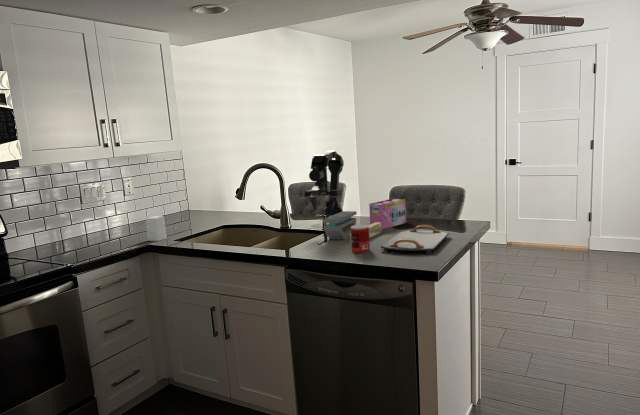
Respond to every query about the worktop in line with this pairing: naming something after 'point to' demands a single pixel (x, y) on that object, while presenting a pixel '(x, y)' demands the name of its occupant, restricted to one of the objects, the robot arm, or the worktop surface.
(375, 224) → the maple stop board
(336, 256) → the worktop surface
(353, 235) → the canned food
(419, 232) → the serving board
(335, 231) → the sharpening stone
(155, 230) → the supplement box
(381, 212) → the gum box
